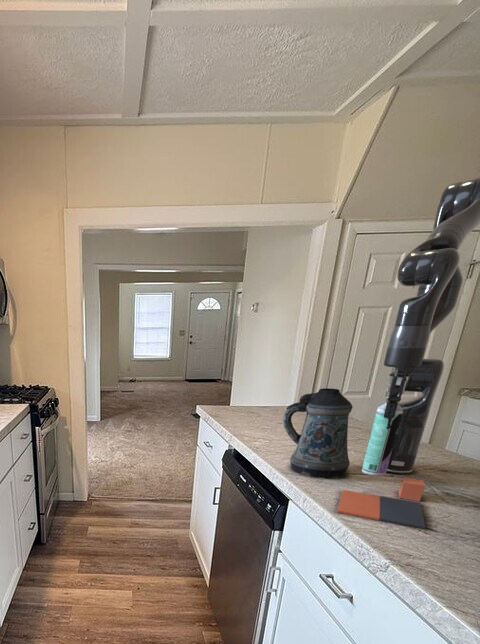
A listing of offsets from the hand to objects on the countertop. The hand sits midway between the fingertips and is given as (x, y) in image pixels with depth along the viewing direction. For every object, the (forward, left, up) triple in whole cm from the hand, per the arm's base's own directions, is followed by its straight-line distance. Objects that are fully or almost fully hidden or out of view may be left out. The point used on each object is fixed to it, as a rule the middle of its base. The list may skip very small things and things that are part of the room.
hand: (388, 415), depth 103 cm
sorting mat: (+13, +2, -21) cm, 25 cm away
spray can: (0, 0, -16) cm, 16 cm away
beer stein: (-11, -15, -21) cm, 28 cm away
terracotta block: (0, +9, -21) cm, 23 cm away
